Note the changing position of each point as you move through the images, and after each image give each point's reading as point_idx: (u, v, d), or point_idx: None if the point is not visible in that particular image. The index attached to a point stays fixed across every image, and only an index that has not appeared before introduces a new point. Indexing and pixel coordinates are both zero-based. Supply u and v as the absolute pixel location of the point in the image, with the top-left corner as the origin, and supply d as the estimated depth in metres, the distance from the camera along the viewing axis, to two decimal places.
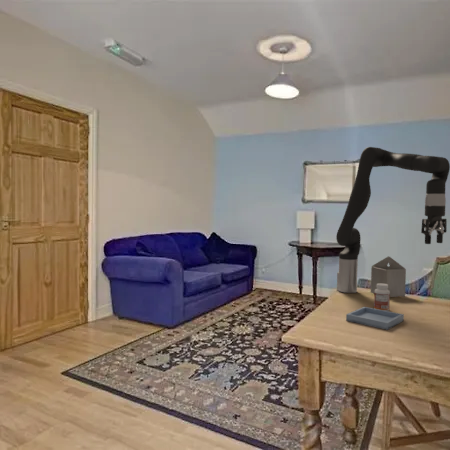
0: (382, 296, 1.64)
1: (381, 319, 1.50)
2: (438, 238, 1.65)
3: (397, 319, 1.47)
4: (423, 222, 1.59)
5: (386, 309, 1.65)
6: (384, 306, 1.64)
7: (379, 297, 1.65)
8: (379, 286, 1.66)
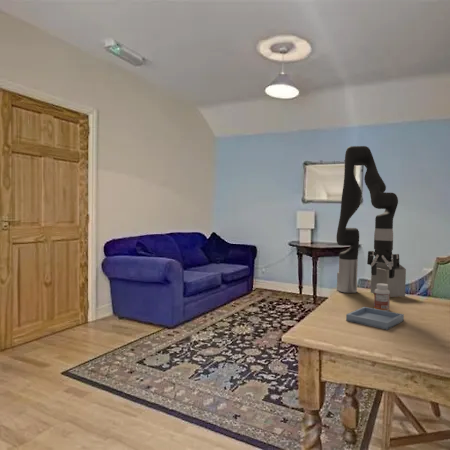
0: (382, 296, 1.64)
1: (381, 319, 1.50)
2: (374, 270, 1.70)
3: (397, 319, 1.47)
4: (396, 257, 1.60)
5: (386, 309, 1.65)
6: (384, 306, 1.64)
7: (379, 297, 1.65)
8: (379, 286, 1.66)
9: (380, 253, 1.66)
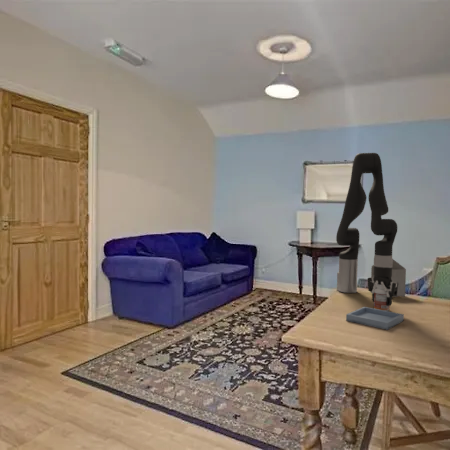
0: (382, 296, 1.64)
1: (381, 319, 1.50)
2: None
3: (397, 319, 1.47)
4: (395, 286, 1.61)
5: (386, 309, 1.65)
6: (384, 306, 1.64)
7: (379, 297, 1.65)
8: (379, 286, 1.66)
9: (379, 279, 1.67)
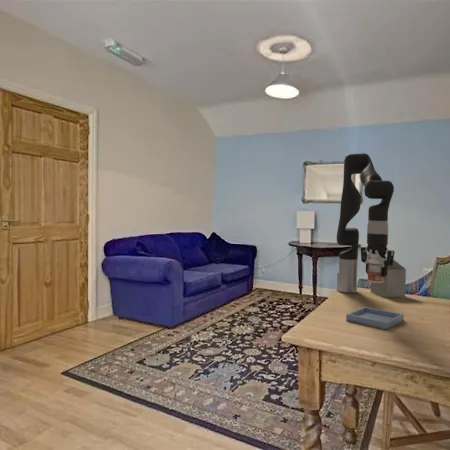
0: (376, 266, 1.48)
1: (381, 319, 1.50)
2: None
3: (397, 319, 1.47)
4: (391, 254, 1.44)
5: (381, 281, 1.48)
6: (379, 277, 1.48)
7: (373, 268, 1.48)
8: (373, 255, 1.49)
9: (374, 248, 1.50)
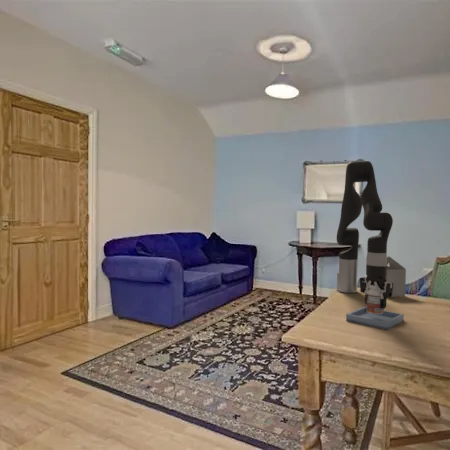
0: (375, 297, 1.48)
1: (381, 319, 1.50)
2: None
3: (397, 319, 1.47)
4: (390, 287, 1.45)
5: (380, 312, 1.49)
6: (378, 308, 1.48)
7: (372, 299, 1.49)
8: (372, 287, 1.50)
9: (373, 279, 1.51)
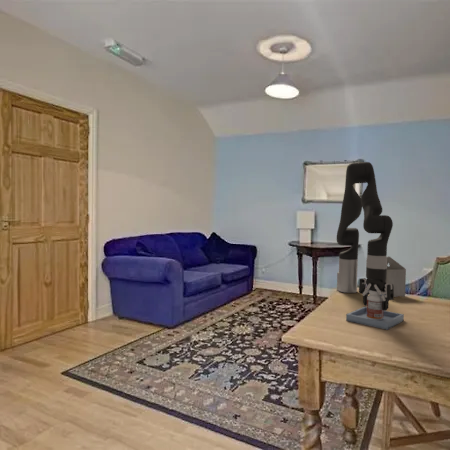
0: (375, 303, 1.49)
1: None
2: (366, 300, 1.55)
3: (397, 319, 1.47)
4: (390, 288, 1.45)
5: (380, 318, 1.49)
6: (377, 314, 1.49)
7: (372, 305, 1.49)
8: (372, 292, 1.50)
9: (373, 282, 1.51)
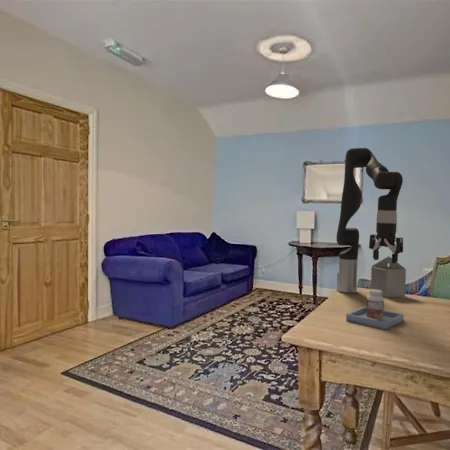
0: (375, 303, 1.49)
1: None
2: (376, 255, 1.60)
3: (397, 319, 1.47)
4: (400, 241, 1.50)
5: (380, 318, 1.49)
6: (377, 314, 1.49)
7: (372, 305, 1.49)
8: (372, 292, 1.50)
9: (383, 236, 1.56)
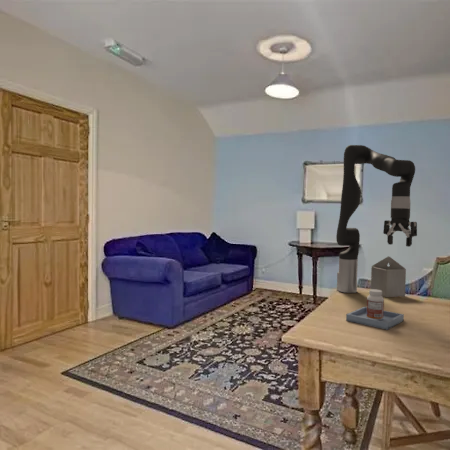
0: (375, 303, 1.49)
1: None
2: (390, 240, 1.68)
3: (397, 319, 1.47)
4: (414, 225, 1.59)
5: (380, 318, 1.49)
6: (377, 314, 1.49)
7: (372, 305, 1.49)
8: (372, 292, 1.50)
9: (397, 221, 1.65)
